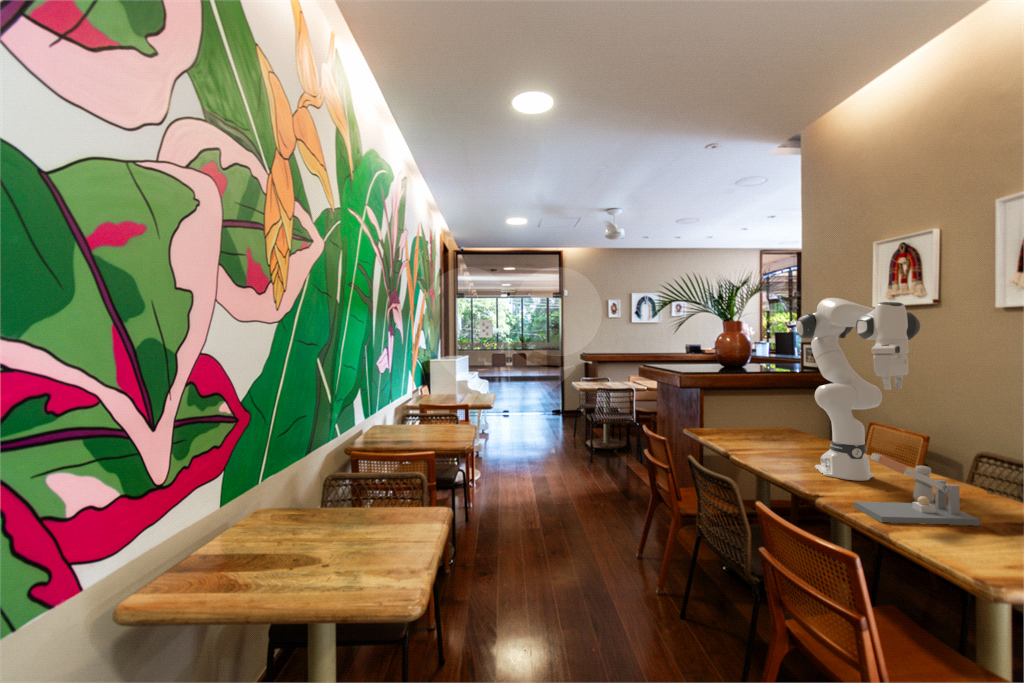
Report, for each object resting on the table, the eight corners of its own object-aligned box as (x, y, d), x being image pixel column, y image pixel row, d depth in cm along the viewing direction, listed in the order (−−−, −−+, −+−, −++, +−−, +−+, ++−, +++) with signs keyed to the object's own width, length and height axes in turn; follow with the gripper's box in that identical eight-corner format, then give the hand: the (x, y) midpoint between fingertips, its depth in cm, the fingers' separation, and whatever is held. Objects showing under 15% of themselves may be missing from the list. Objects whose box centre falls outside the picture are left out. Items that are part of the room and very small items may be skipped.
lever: (944, 494, 155) (949, 485, 155) (953, 498, 151) (958, 488, 151) (868, 460, 157) (872, 451, 157) (875, 463, 154) (879, 453, 153)
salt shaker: (926, 500, 168) (926, 464, 168) (939, 506, 163) (938, 468, 163) (908, 500, 169) (908, 464, 169) (920, 506, 163) (920, 468, 163)
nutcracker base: (943, 509, 160) (943, 477, 160) (980, 525, 146) (979, 490, 146) (854, 507, 163) (854, 475, 163) (881, 523, 149) (881, 487, 149)
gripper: (891, 348, 171) (892, 387, 171) (869, 348, 160) (870, 389, 159) (913, 348, 166) (915, 388, 166) (892, 348, 155) (893, 391, 154)
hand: (893, 389), depth 163 cm, fingers open, 8 cm apart
